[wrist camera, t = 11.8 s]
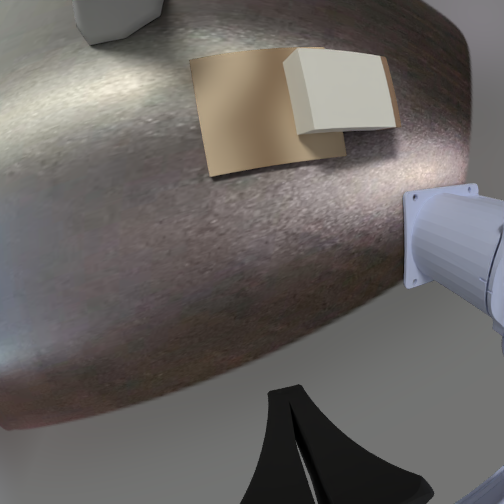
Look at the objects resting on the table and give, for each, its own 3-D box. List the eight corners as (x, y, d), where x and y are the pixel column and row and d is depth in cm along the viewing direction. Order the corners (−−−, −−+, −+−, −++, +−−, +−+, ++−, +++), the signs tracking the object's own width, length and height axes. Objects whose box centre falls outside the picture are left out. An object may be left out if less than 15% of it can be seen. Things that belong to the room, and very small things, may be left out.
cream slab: (282, 62, 15) (365, 66, 16) (297, 135, 16) (378, 130, 17) (297, 47, 12) (385, 57, 13) (314, 129, 14) (401, 127, 15)
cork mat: (322, 49, 15) (323, 47, 15) (344, 156, 18) (346, 156, 17) (189, 62, 15) (189, 60, 14) (210, 176, 17) (209, 176, 17)
